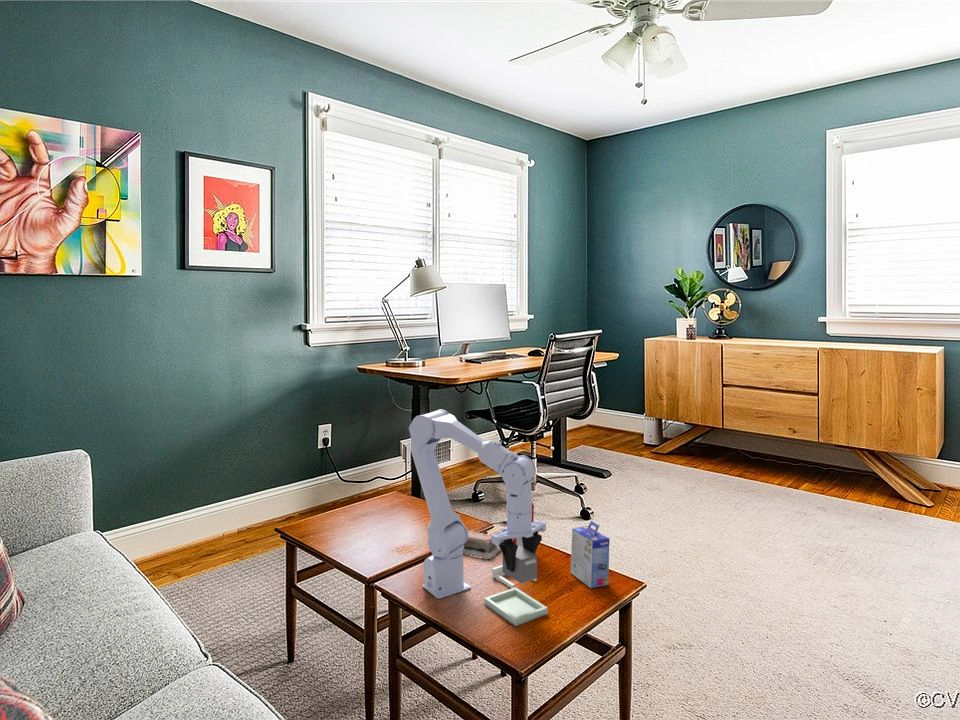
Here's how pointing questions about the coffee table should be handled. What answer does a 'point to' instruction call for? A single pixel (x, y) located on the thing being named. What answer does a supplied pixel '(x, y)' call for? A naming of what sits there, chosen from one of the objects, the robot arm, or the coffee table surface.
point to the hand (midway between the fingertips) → (519, 567)
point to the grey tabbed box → (523, 566)
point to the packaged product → (480, 545)
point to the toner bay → (498, 573)
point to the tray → (515, 606)
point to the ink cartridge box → (590, 556)
